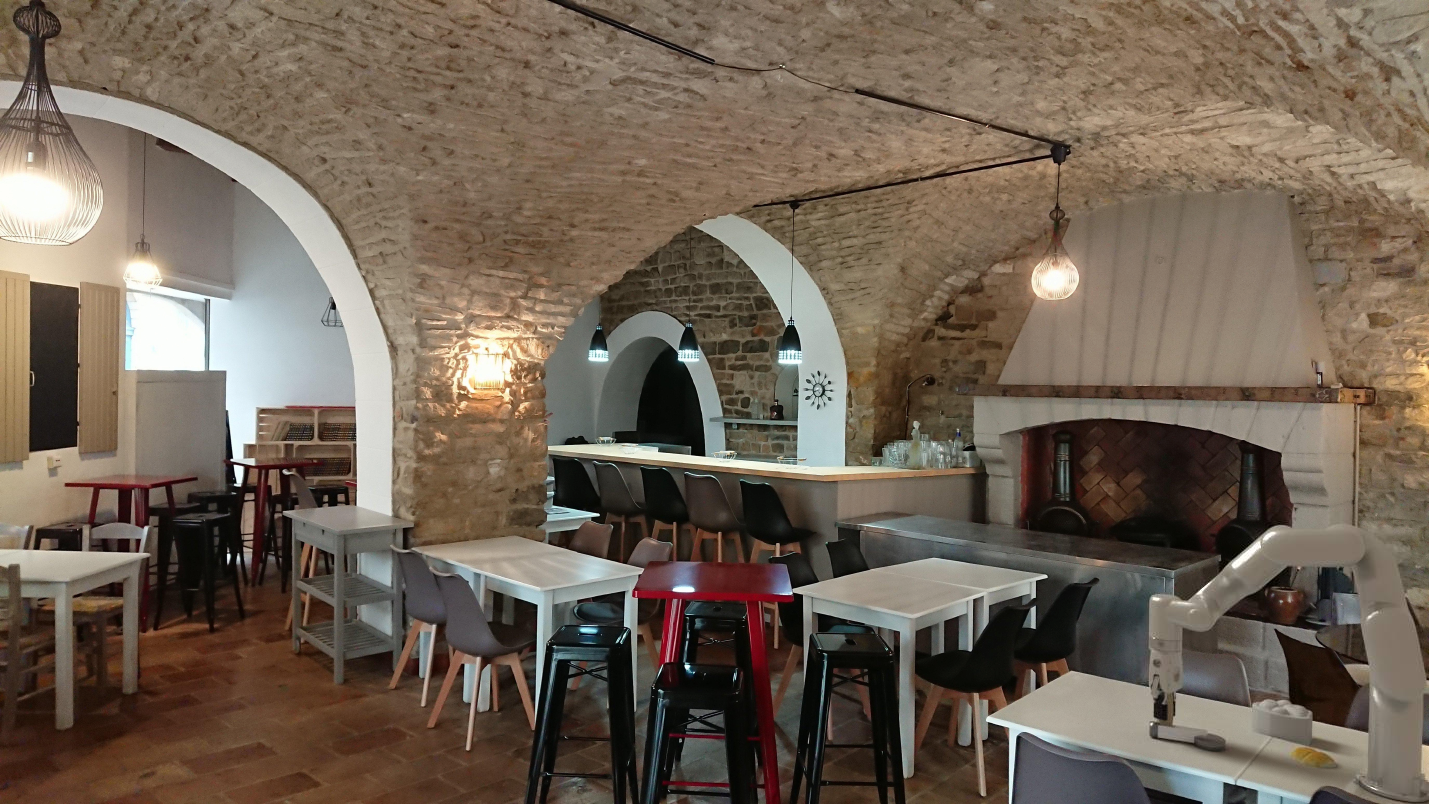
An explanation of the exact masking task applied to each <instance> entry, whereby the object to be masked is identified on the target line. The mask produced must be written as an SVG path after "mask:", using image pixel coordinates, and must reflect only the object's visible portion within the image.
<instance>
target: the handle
mask: <svg viewBox="0 0 1429 804" xmlns="http://www.w3.org/2000/svg"><path fill="white" fill-rule="evenodd" d="M1174 679H1175V681H1178V680H1179V674H1178V675H1176V676H1174ZM1159 690H1160V691H1163V690H1162V689H1161V688H1159ZM1159 695H1161V696H1162V698H1163V694H1161V693H1159ZM1166 704H1167V705H1168V720H1166V721H1164V720H1160V719H1157V718H1155V719H1156V721H1155V722H1158V723H1163V724H1170V725H1174V724H1173V723H1174V717H1173V694H1172V693H1170V694H1167V700H1166Z"/></svg>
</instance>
